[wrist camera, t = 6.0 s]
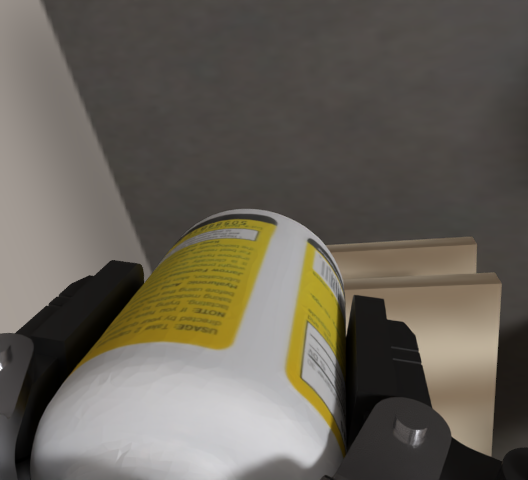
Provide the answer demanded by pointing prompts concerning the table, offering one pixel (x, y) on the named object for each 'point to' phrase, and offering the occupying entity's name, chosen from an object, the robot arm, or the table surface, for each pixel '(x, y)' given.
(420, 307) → the wooden pedestal stand
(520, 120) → the table surface
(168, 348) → the supplement bottle
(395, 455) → the robot arm
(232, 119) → the table surface
